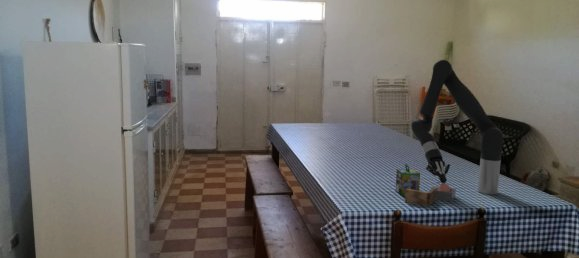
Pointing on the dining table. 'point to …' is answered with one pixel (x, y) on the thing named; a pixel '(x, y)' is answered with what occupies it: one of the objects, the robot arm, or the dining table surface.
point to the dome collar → (445, 194)
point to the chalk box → (407, 180)
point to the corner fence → (420, 197)
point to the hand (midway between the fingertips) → (444, 182)
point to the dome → (444, 187)
